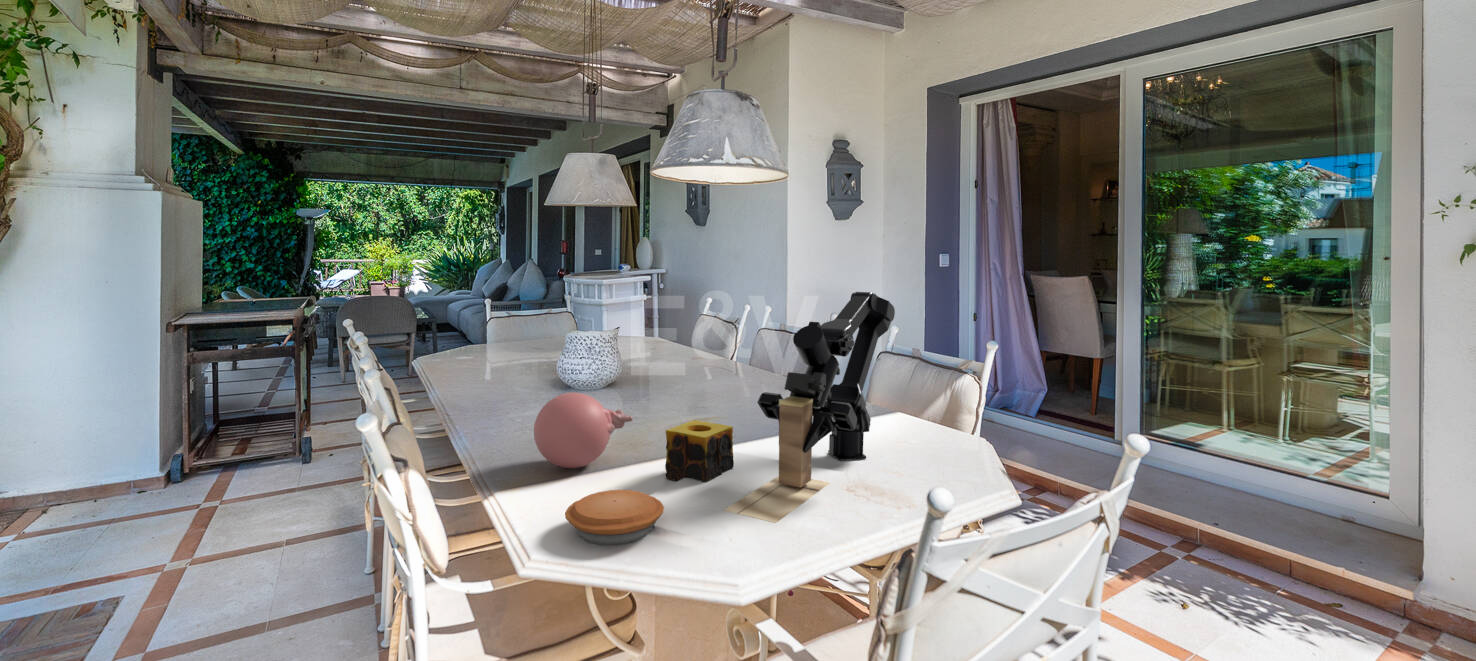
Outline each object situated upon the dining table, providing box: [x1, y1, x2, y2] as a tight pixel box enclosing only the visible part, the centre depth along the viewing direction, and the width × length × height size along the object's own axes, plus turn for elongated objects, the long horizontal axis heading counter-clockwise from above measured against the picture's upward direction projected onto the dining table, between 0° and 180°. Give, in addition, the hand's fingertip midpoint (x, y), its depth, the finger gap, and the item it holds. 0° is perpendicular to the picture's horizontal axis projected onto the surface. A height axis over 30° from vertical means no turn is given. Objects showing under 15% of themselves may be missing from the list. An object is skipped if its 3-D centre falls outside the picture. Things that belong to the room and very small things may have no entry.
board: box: [723, 475, 831, 524], centre depth 120 cm, size 22×10×1 cm, turn 149°
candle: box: [664, 419, 735, 483], centre depth 133 cm, size 10×10×10 cm
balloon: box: [533, 392, 634, 469], centre depth 139 cm, size 15×20×15 cm
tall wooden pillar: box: [778, 395, 813, 488], centre depth 124 cm, size 5×5×16 cm
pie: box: [564, 489, 665, 546], centre depth 108 cm, size 15×16×5 cm
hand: (792, 449), depth 123 cm, fingers closed on tall wooden pillar, 4 cm apart
